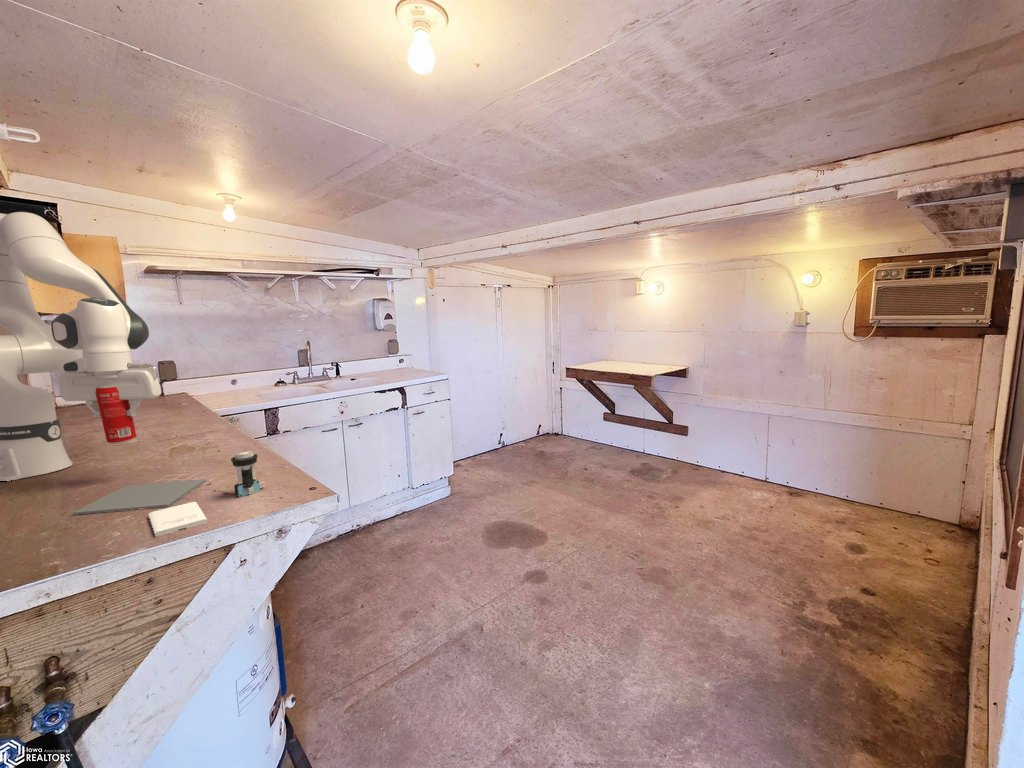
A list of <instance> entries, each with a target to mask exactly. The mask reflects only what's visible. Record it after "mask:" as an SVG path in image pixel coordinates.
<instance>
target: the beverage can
mask: <svg viewBox="0 0 1024 768" xmlns="http://www.w3.org/2000/svg"><path fill="white" fill-rule="evenodd" d="M95 393H96V398H97V402H98V404H97V405H98V406H99V410H100V415H101V418H100V419H101V422H102V427H103V431H104V436H105V440H106V443H107V444H110V445H113V444H114V445H115V444H123V443H128V442H131V441H135V439H136V438H137V432H136V427H135V423H134V418H133V417H127V415H126V410H129V409H130V407H131V404H129V400H121V399H120V398H119V391H118V390H117V388H116V386H113V387H96V392H95Z"/></svg>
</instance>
